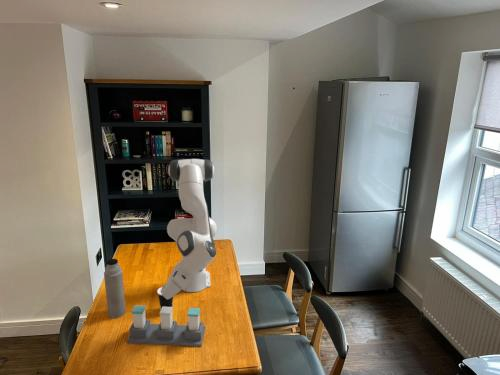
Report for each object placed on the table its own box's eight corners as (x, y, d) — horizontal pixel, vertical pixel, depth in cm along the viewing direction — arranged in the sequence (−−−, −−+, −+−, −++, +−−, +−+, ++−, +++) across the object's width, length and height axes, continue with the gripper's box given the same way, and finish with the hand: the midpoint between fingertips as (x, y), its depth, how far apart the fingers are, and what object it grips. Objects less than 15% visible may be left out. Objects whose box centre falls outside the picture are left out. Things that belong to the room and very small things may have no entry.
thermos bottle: (114, 306, 181) (110, 255, 173) (129, 309, 179) (124, 258, 171) (104, 316, 173) (99, 263, 165) (119, 319, 171) (114, 266, 163)
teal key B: (190, 325, 163) (189, 307, 160) (200, 325, 163) (200, 308, 160) (188, 332, 158) (187, 314, 156) (198, 332, 158) (198, 314, 156)
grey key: (163, 324, 163) (162, 306, 160) (173, 324, 163) (172, 307, 160) (160, 330, 159) (159, 313, 156) (171, 331, 158) (170, 313, 156)
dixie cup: (177, 307, 182) (177, 287, 179) (169, 316, 174) (168, 296, 171) (163, 303, 184) (162, 284, 181) (155, 313, 177) (153, 293, 174)
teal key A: (136, 322, 163) (135, 305, 161) (146, 323, 163) (145, 305, 161) (133, 329, 159) (131, 311, 156) (143, 330, 159) (142, 312, 156)
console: (136, 324, 168) (135, 315, 167) (205, 328, 167) (205, 318, 166) (126, 343, 157) (125, 333, 155) (201, 346, 156) (201, 336, 154)
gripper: (184, 254, 162) (163, 273, 165) (173, 279, 142) (150, 300, 145) (194, 264, 163) (173, 282, 166) (185, 289, 143) (161, 310, 146)
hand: (162, 291), depth 155 cm, fingers closed
